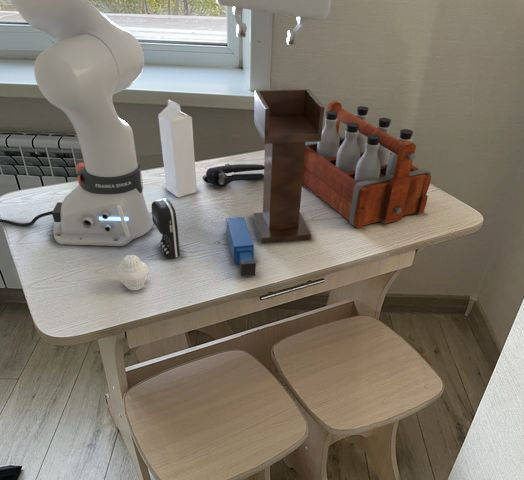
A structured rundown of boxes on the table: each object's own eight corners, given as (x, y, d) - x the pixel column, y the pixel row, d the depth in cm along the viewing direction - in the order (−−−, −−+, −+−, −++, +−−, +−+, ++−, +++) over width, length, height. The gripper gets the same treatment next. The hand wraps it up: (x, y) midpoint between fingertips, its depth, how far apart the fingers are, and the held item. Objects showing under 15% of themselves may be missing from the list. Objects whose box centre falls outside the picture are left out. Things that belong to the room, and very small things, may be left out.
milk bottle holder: (360, 234, 117) (375, 153, 104) (290, 176, 140) (295, 103, 127) (430, 217, 124) (452, 139, 111) (352, 165, 147) (363, 94, 134)
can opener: (209, 193, 131) (208, 172, 127) (201, 182, 136) (199, 162, 132) (270, 183, 137) (271, 162, 133) (260, 173, 141) (260, 153, 137)
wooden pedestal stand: (261, 243, 113) (265, 108, 93) (252, 218, 122) (254, 90, 102) (310, 240, 115) (324, 107, 95) (298, 215, 123) (309, 88, 104)
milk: (177, 197, 129) (168, 107, 114) (166, 189, 132) (155, 100, 117) (197, 191, 131) (191, 103, 116) (185, 183, 135) (178, 96, 120)
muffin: (118, 296, 97) (112, 266, 92) (120, 278, 102) (114, 248, 97) (151, 293, 98) (146, 263, 93) (150, 276, 102) (146, 246, 98)
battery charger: (154, 245, 111) (148, 198, 103) (171, 242, 112) (165, 194, 105) (164, 261, 107) (157, 212, 99) (181, 257, 108) (176, 209, 100)
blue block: (238, 279, 102) (238, 262, 100) (226, 234, 116) (226, 217, 113) (258, 277, 103) (258, 260, 100) (244, 233, 116) (244, 216, 113)
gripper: (337, -49, 84) (316, 40, 94) (217, -72, 79) (209, 25, 90) (346, -39, 80) (323, 54, 91) (221, -62, 76) (212, 38, 86)
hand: (266, 39), depth 90 cm, fingers open, 8 cm apart
